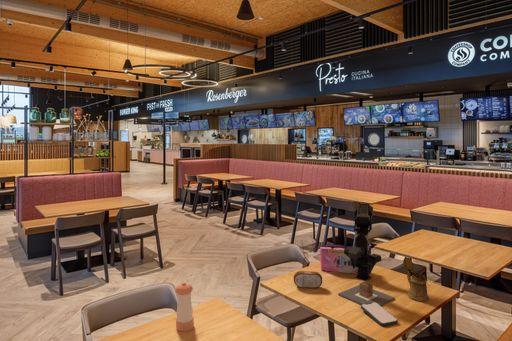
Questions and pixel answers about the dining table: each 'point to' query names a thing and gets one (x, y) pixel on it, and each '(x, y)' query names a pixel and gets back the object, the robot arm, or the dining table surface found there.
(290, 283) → the dining table surface
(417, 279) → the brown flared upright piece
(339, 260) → the gum box
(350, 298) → the mat
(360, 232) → the robot arm
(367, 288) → the block
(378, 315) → the phone case
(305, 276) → the portable speaker
